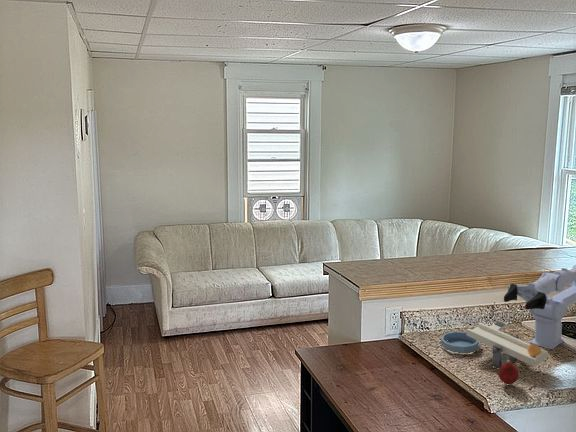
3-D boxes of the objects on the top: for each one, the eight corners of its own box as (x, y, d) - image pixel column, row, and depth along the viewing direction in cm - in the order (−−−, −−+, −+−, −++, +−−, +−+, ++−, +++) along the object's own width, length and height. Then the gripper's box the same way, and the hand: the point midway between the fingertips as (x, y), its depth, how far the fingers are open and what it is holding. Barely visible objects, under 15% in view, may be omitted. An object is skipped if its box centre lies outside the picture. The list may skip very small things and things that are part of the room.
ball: (528, 348, 182) (533, 339, 180) (540, 356, 180) (545, 347, 178) (522, 353, 180) (527, 343, 178) (534, 361, 177) (539, 351, 175)
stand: (510, 352, 193) (511, 332, 192) (522, 356, 190) (522, 336, 189) (488, 367, 184) (488, 346, 183) (499, 371, 181) (500, 350, 180)
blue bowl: (454, 336, 208) (454, 328, 208) (485, 346, 199) (485, 338, 198) (434, 347, 201) (434, 339, 200) (465, 358, 191) (465, 349, 191)
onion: (520, 390, 170) (520, 365, 168) (499, 389, 171) (500, 364, 169) (516, 380, 175) (517, 356, 173) (496, 379, 176) (497, 355, 175)
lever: (492, 320, 203) (493, 313, 202) (559, 348, 186) (561, 341, 185) (466, 335, 192) (467, 327, 191) (534, 366, 175) (536, 358, 174)
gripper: (519, 272, 195) (496, 284, 187) (560, 285, 184) (537, 298, 176) (517, 291, 197) (495, 304, 190) (558, 305, 186) (536, 318, 178)
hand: (515, 302), depth 183 cm, fingers open, 7 cm apart
